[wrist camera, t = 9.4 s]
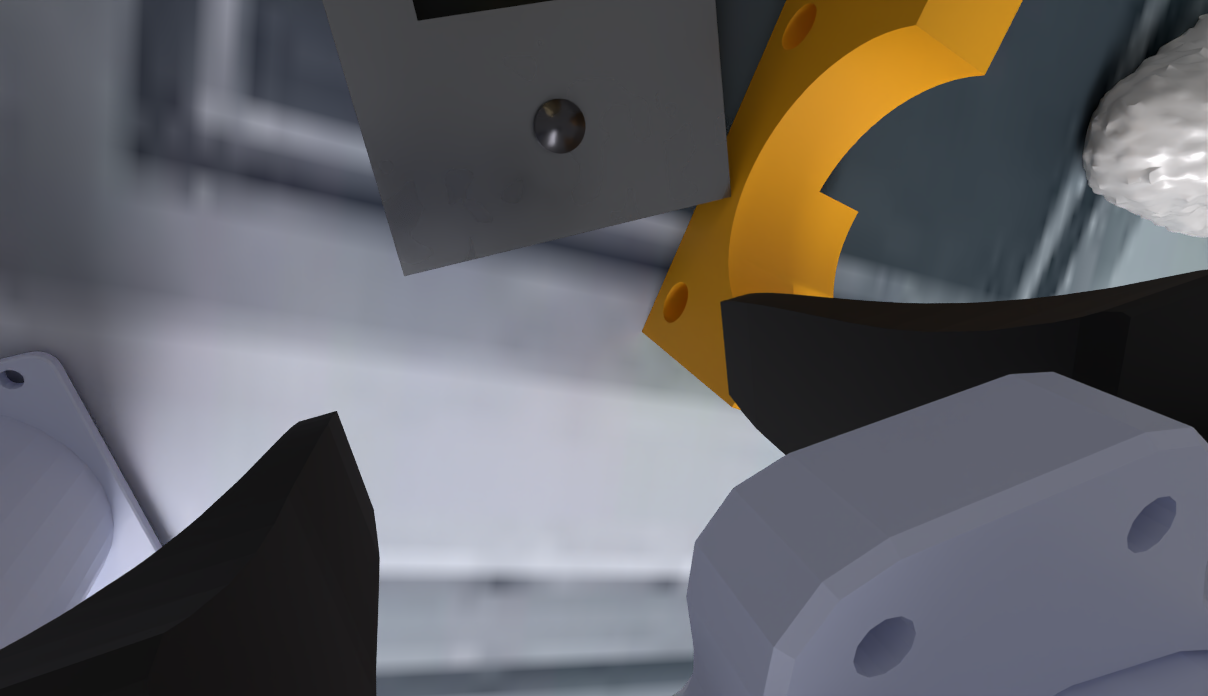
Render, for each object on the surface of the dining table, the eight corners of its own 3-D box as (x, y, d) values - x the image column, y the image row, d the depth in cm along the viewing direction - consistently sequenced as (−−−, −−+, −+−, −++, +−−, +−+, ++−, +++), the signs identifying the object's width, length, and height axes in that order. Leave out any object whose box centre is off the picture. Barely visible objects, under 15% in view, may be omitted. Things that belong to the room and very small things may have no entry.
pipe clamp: (736, 363, 25) (848, 442, 19) (640, 330, 23) (732, 407, 17) (885, 47, 22) (1065, 31, 17) (791, -17, 20) (956, -62, 15)
